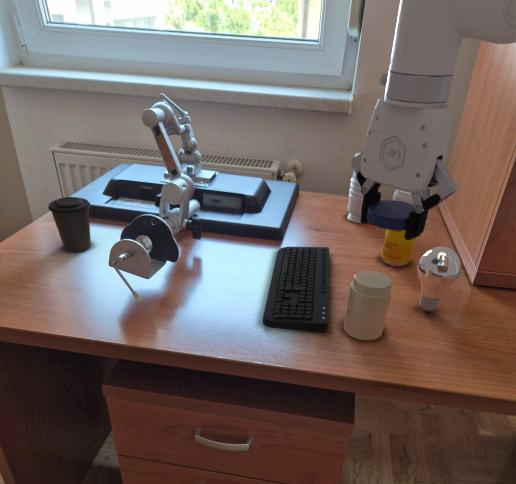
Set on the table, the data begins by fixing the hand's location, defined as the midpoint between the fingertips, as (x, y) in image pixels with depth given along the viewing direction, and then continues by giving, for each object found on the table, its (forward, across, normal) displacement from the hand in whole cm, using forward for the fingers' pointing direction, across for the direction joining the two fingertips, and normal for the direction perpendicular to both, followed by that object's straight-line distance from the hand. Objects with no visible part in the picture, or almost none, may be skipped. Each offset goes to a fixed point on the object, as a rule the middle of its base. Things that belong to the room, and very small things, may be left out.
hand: (389, 228), depth 68 cm
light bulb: (+18, +2, +13) cm, 23 cm away
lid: (-2, 0, 0) cm, 2 cm away
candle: (+18, -33, +38) cm, 54 cm away
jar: (+18, -1, 0) cm, 18 cm away
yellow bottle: (+18, -13, +26) cm, 34 cm away
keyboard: (+18, -18, +2) cm, 25 cm away
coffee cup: (+18, -59, -24) cm, 66 cm away
